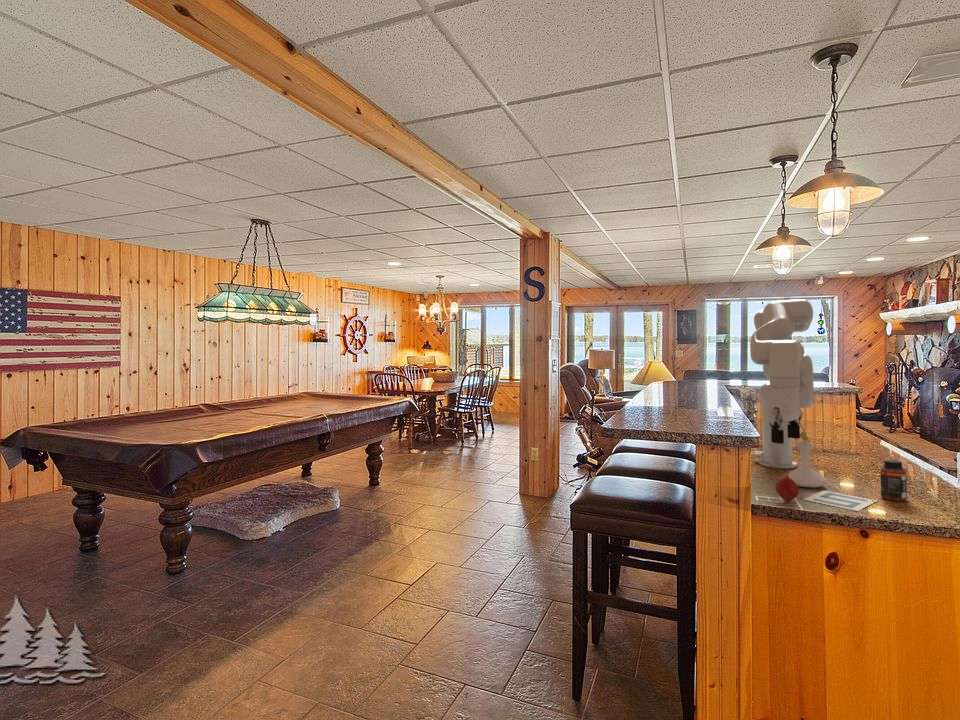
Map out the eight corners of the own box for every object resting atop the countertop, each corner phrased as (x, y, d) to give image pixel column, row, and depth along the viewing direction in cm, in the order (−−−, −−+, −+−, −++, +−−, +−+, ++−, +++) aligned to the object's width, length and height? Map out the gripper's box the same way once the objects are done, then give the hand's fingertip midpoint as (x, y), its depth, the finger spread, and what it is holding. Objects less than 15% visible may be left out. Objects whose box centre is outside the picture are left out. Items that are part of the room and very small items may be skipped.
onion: (771, 499, 151) (771, 473, 151) (789, 498, 151) (789, 471, 151) (785, 505, 145) (784, 477, 145) (803, 504, 146) (803, 476, 145)
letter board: (802, 499, 149) (802, 499, 149) (823, 491, 157) (823, 490, 157) (858, 511, 138) (858, 510, 138) (877, 501, 145) (877, 500, 145)
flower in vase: (790, 479, 172) (788, 406, 171) (830, 484, 164) (828, 408, 163) (779, 487, 163) (777, 411, 162) (821, 493, 154) (819, 413, 154)
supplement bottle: (912, 502, 144) (911, 463, 143) (888, 501, 145) (887, 463, 145) (899, 496, 149) (898, 458, 149) (876, 495, 151) (875, 458, 150)
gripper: (785, 380, 155) (786, 434, 156) (756, 385, 146) (757, 443, 146) (812, 381, 149) (813, 437, 150) (783, 386, 140) (784, 447, 140)
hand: (785, 440), depth 148 cm, fingers open, 9 cm apart
